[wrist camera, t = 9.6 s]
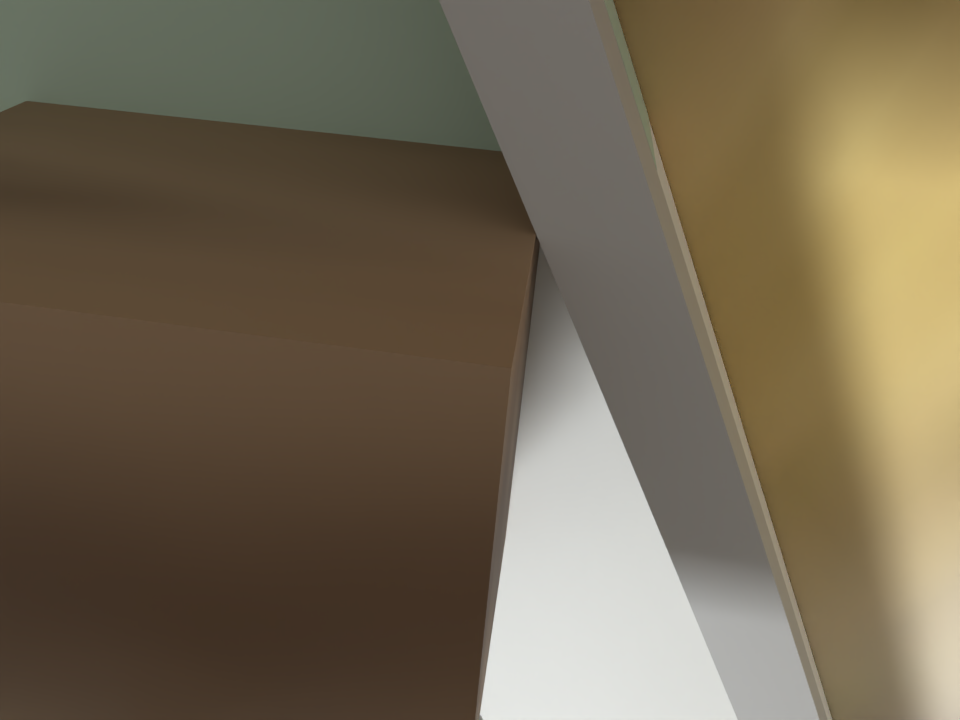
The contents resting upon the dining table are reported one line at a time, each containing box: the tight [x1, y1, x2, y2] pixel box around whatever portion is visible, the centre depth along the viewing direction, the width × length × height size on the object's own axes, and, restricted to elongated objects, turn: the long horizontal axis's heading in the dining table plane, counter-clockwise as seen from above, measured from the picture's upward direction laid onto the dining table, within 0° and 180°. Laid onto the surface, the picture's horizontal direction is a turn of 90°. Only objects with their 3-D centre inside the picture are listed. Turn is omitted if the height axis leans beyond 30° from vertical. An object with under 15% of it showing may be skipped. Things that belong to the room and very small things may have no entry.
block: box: [0, 101, 540, 720], centre depth 8 cm, size 6×6×4 cm
